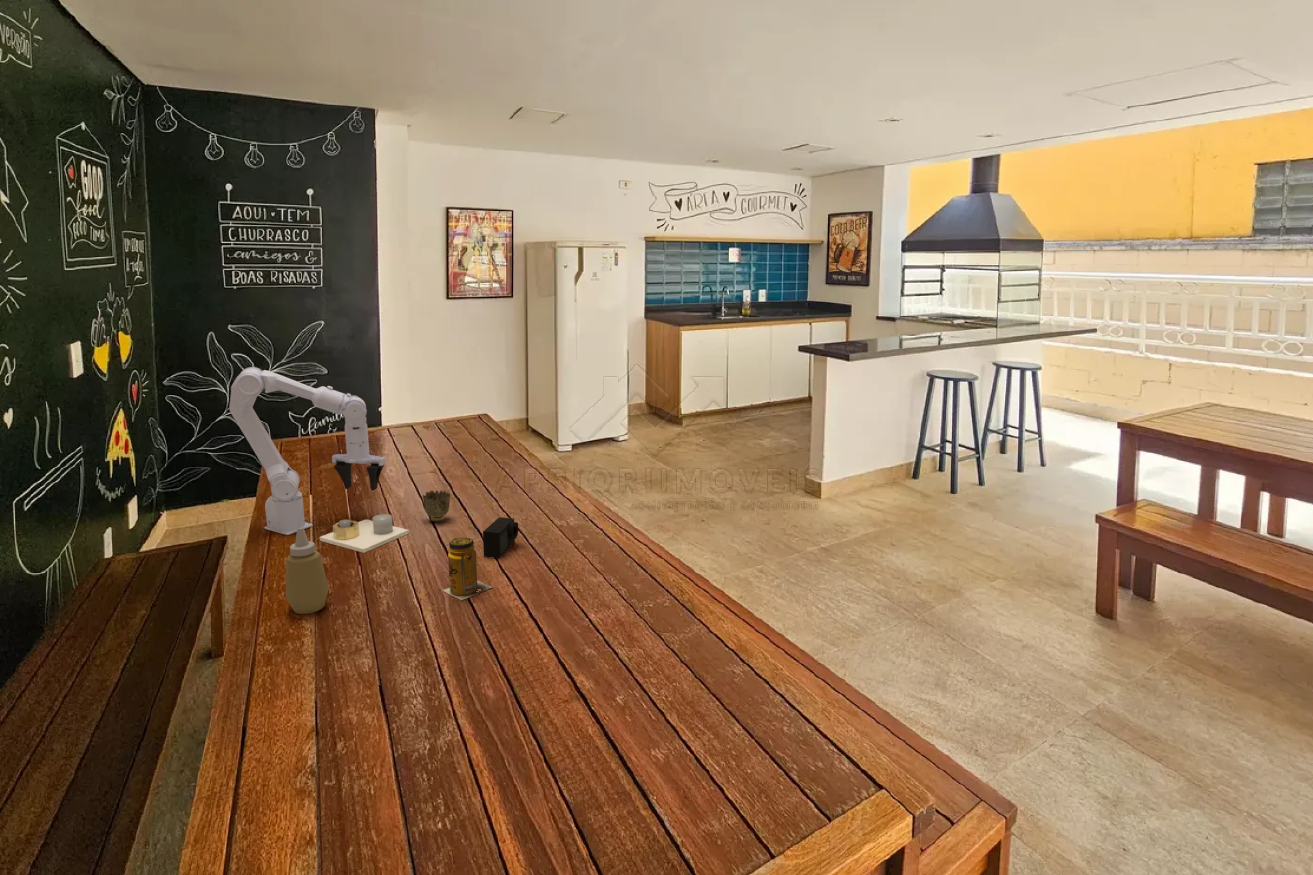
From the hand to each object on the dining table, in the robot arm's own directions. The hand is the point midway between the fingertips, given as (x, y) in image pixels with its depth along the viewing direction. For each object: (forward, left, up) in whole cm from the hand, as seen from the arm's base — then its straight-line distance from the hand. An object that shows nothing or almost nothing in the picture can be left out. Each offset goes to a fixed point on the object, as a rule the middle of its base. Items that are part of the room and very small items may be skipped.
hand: (361, 488), depth 199 cm
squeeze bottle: (+31, -42, -10) cm, 53 cm away
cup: (+18, +10, -10) cm, 23 cm away
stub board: (+10, -9, -9) cm, 16 cm away
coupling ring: (+7, -12, -8) cm, 16 cm away
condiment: (+54, -19, -10) cm, 58 cm away
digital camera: (+47, +2, -10) cm, 48 cm away
